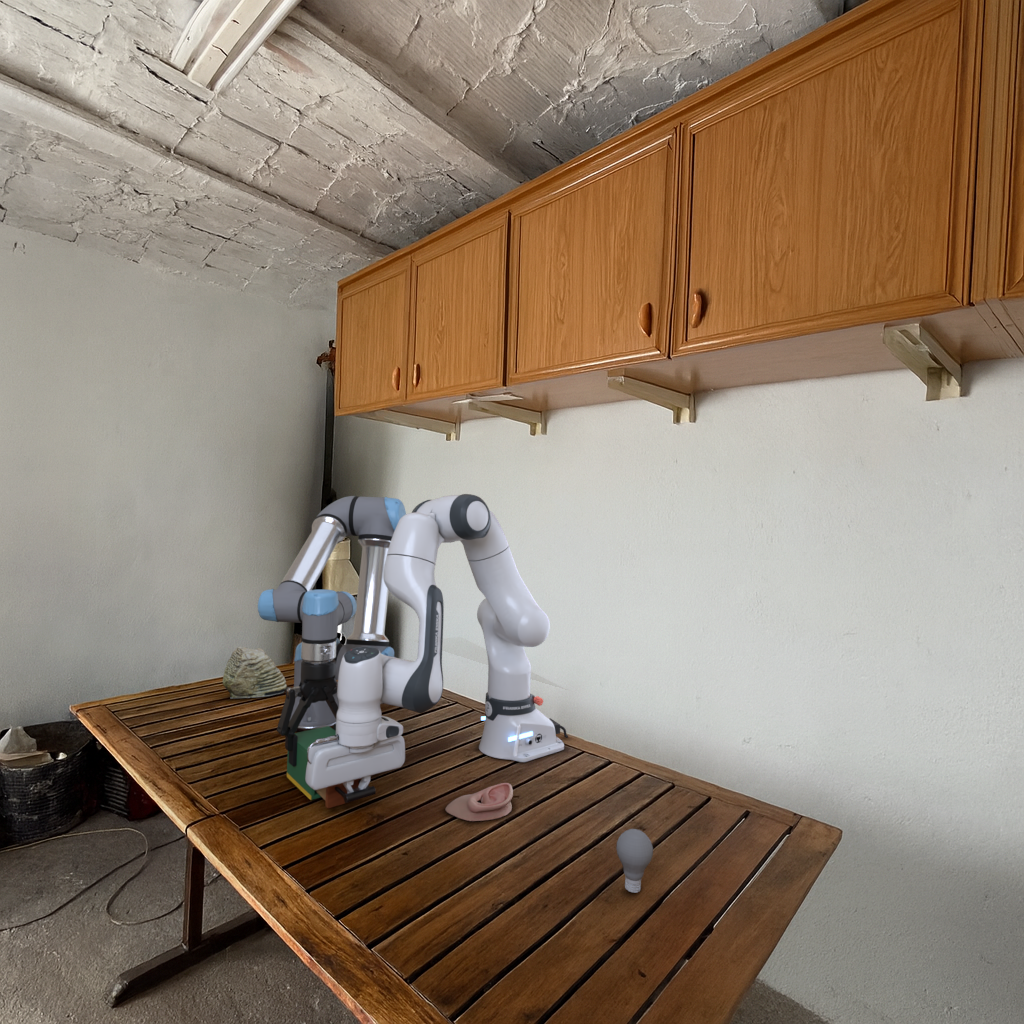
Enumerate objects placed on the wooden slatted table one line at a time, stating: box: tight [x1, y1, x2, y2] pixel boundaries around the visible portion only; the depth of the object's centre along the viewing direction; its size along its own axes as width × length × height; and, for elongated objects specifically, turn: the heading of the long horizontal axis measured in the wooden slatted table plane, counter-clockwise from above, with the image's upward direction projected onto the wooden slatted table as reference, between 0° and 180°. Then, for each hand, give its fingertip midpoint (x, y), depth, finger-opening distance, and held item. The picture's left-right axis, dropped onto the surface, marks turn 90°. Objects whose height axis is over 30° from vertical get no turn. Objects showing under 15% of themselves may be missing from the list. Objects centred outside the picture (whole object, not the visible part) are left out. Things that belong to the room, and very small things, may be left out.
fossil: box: [222, 646, 288, 699], centre depth 198 cm, size 9×18×15 cm, turn 132°
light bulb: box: [615, 828, 654, 894], centre depth 106 cm, size 6×6×10 cm
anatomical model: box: [444, 782, 514, 822], centre depth 131 cm, size 13×4×12 cm
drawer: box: [315, 778, 377, 809], centre depth 132 cm, size 18×8×8 cm, turn 40°
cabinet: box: [286, 726, 336, 801], centre depth 140 cm, size 14×10×10 cm
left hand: (315, 758), depth 142 cm, fingers closed on cabinet, 10 cm apart
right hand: (355, 798), depth 127 cm, fingers closed, pressing on drawer
